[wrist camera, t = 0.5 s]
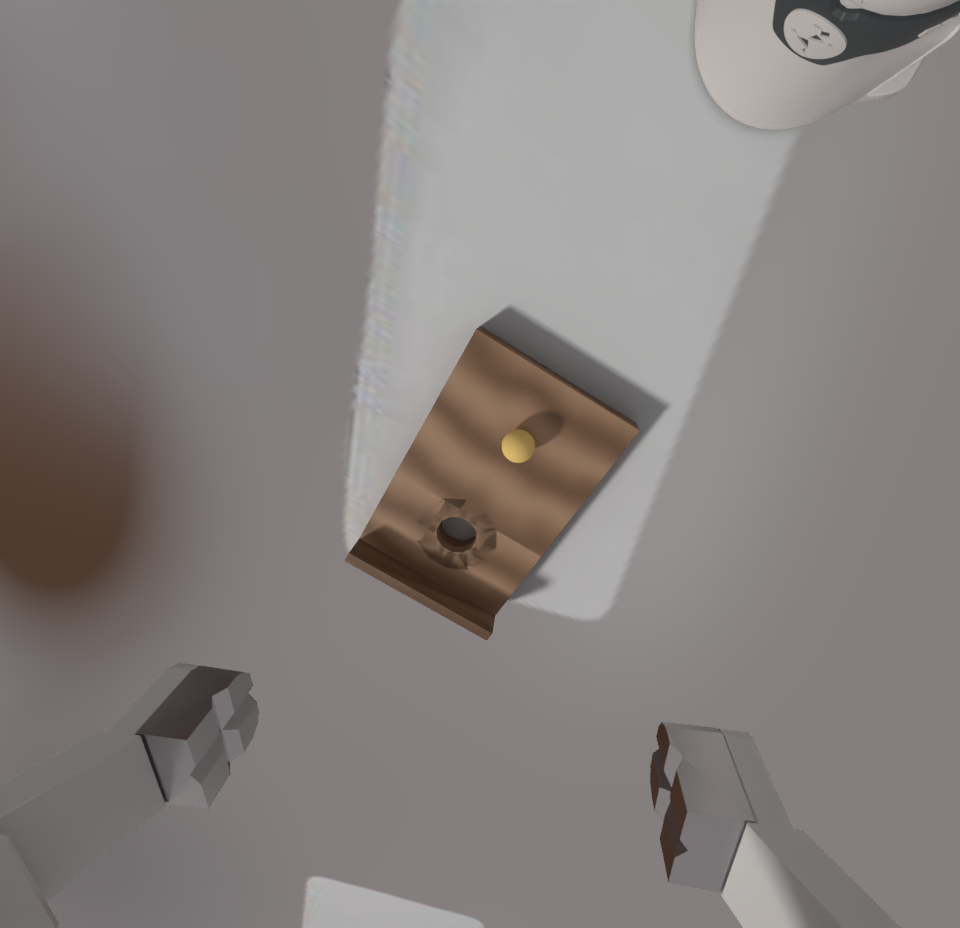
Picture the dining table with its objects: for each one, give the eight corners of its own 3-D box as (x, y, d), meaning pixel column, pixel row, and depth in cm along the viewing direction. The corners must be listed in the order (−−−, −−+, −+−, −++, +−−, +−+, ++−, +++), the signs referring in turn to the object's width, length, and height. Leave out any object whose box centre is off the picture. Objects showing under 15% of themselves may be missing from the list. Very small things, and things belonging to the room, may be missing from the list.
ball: (514, 418, 47) (511, 429, 44) (541, 436, 47) (541, 447, 44) (497, 445, 48) (493, 456, 45) (524, 461, 48) (522, 473, 45)
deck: (479, 326, 46) (471, 333, 41) (635, 422, 48) (645, 441, 43) (362, 535, 57) (344, 560, 52) (492, 608, 59) (486, 640, 54)
